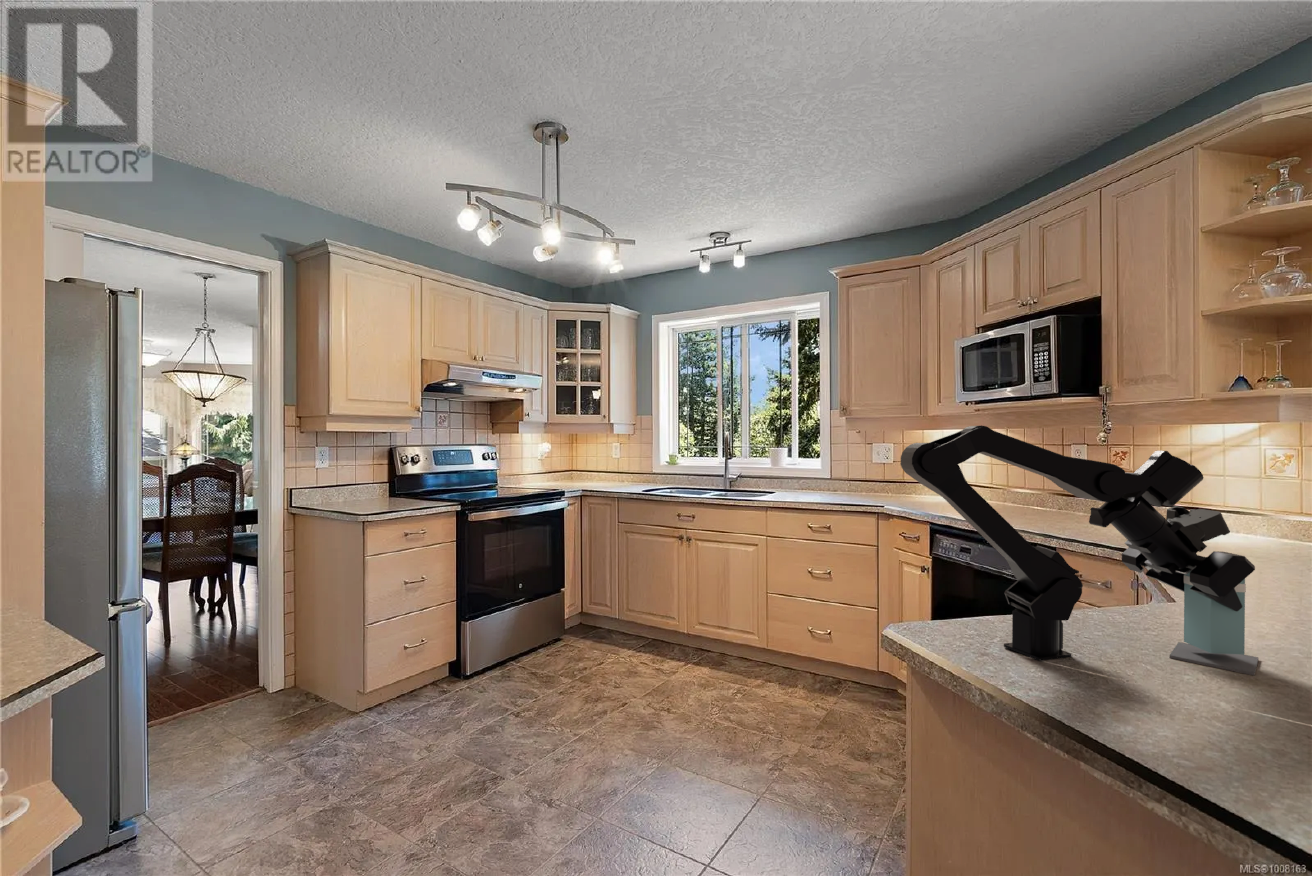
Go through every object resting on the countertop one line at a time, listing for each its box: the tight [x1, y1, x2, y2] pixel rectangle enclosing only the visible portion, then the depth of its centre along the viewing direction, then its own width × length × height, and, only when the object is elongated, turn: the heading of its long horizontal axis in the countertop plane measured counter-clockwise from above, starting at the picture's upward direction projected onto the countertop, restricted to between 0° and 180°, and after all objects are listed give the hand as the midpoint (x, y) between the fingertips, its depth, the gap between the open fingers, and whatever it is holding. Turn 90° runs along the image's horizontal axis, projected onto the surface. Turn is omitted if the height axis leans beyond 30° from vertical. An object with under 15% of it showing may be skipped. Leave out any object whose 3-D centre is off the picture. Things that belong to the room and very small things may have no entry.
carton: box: [1183, 570, 1247, 655], centre depth 89 cm, size 5×5×12 cm
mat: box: [1169, 641, 1259, 676], centre depth 89 cm, size 9×9×1 cm
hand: (1223, 604), depth 89 cm, fingers closed on carton, 5 cm apart
